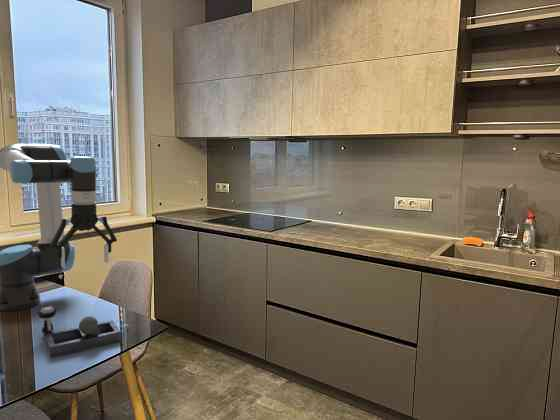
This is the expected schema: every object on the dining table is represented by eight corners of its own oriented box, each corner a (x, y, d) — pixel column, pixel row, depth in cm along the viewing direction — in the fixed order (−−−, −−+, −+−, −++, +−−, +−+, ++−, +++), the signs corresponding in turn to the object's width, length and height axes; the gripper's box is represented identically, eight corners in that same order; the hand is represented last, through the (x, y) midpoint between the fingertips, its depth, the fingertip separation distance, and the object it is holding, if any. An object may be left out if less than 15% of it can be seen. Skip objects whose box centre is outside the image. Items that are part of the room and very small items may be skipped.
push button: (35, 335, 136) (34, 306, 135) (53, 330, 140) (51, 303, 139) (42, 342, 132) (40, 312, 130) (59, 337, 135) (58, 308, 134)
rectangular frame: (45, 344, 130) (45, 333, 130) (112, 329, 142) (112, 320, 142) (50, 358, 122) (49, 347, 121) (121, 341, 134) (120, 331, 133)
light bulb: (93, 332, 137) (78, 314, 130) (108, 329, 136) (94, 311, 130) (88, 346, 132) (73, 329, 126) (105, 343, 132) (90, 326, 126)
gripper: (42, 206, 125) (45, 272, 128) (125, 203, 139) (126, 262, 143) (39, 202, 131) (42, 266, 134) (119, 200, 145) (120, 257, 149)
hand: (85, 264), depth 138 cm, fingers open, 13 cm apart
